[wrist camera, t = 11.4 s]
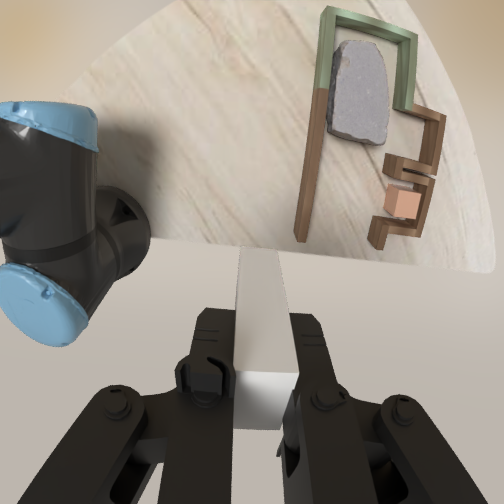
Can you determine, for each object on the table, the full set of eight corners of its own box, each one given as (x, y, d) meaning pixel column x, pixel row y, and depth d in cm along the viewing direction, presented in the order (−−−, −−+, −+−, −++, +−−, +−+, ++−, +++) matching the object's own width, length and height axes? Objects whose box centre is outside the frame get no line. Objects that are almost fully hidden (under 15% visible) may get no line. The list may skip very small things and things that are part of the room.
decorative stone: (330, 154, 40) (391, 138, 38) (342, 161, 34) (412, 144, 32) (297, 58, 34) (362, 45, 32) (304, 47, 28) (379, 34, 26)
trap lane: (293, 231, 44) (297, 241, 41) (320, 14, 30) (327, 5, 26) (404, 243, 45) (415, 253, 42) (437, 52, 31) (451, 50, 27)
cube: (383, 207, 43) (393, 216, 39) (387, 183, 41) (399, 189, 38) (403, 210, 43) (415, 219, 39) (408, 187, 41) (421, 193, 38)
